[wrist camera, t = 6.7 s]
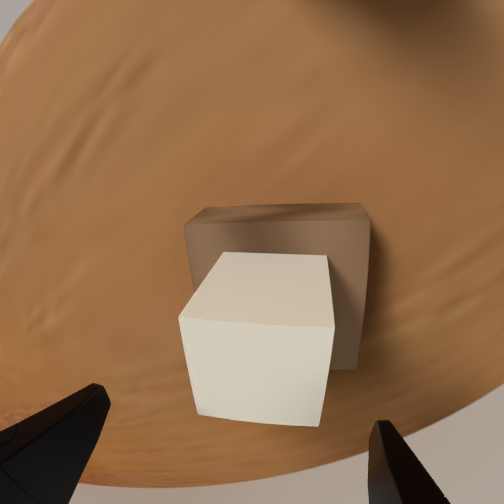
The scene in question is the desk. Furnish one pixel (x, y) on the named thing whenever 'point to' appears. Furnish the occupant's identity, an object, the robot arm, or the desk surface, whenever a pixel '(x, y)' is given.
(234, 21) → the desk surface
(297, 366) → the cream block
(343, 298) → the walnut block
